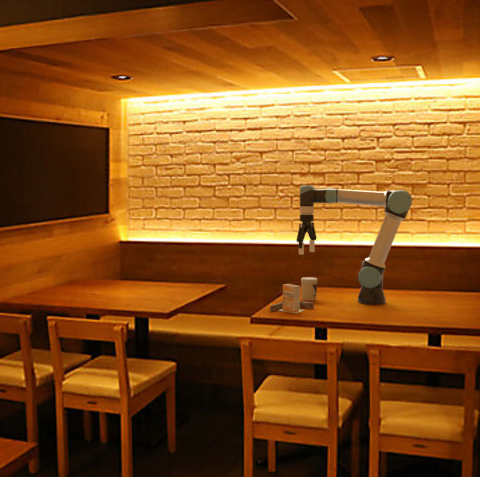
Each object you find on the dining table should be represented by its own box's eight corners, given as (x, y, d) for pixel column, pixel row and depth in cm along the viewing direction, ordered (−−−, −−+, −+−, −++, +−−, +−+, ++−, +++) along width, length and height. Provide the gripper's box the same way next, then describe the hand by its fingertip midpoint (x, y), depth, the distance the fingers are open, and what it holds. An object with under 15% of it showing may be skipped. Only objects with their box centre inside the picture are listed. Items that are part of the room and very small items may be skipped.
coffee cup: (316, 301, 378) (316, 279, 377) (299, 300, 380) (300, 279, 379) (318, 298, 388) (318, 277, 386) (301, 297, 389) (301, 276, 388)
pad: (304, 310, 352) (304, 310, 352) (296, 313, 345) (296, 312, 345) (285, 308, 358) (285, 307, 358) (277, 310, 351) (277, 310, 351)
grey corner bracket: (313, 308, 358) (313, 302, 358) (294, 314, 341) (294, 308, 341) (289, 305, 366) (289, 299, 366) (270, 311, 349) (270, 305, 349)
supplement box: (281, 309, 353) (282, 284, 352) (288, 308, 356) (288, 283, 355) (293, 312, 347) (294, 286, 346) (300, 310, 350) (300, 285, 349)
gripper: (310, 212, 382) (310, 250, 384) (290, 215, 360) (290, 255, 362) (322, 213, 378) (322, 251, 380) (302, 215, 357) (303, 255, 358)
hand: (306, 253), depth 371 cm, fingers open, 13 cm apart
